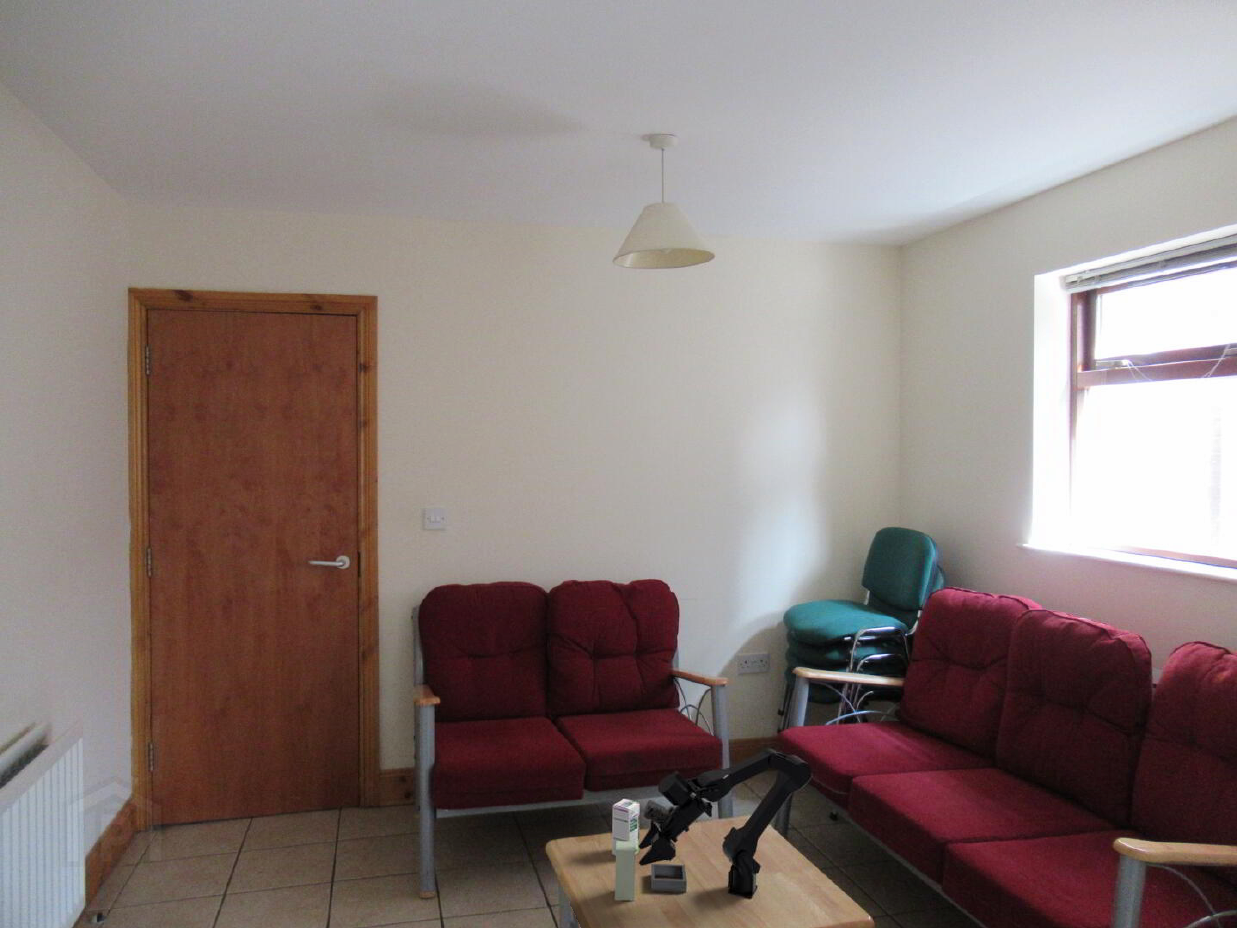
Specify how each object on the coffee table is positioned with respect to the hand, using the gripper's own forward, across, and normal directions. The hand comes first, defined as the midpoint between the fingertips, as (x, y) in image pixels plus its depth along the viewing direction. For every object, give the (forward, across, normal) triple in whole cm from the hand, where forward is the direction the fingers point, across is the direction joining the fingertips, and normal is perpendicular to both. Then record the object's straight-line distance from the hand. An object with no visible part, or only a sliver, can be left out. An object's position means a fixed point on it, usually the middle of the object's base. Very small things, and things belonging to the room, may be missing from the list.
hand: (639, 855), depth 230 cm
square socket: (+2, -7, +13) cm, 15 cm away
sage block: (+10, 0, +5) cm, 11 cm away
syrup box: (+10, -24, +5) cm, 26 cm away
